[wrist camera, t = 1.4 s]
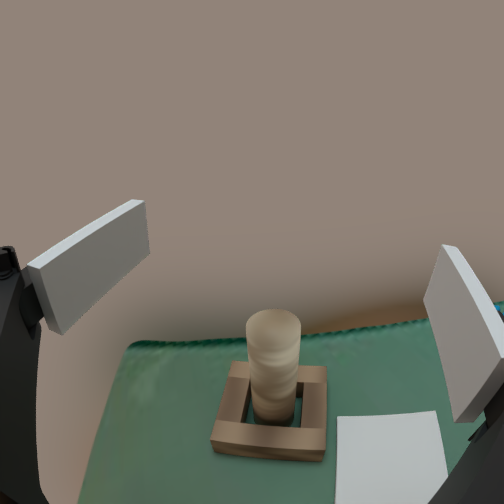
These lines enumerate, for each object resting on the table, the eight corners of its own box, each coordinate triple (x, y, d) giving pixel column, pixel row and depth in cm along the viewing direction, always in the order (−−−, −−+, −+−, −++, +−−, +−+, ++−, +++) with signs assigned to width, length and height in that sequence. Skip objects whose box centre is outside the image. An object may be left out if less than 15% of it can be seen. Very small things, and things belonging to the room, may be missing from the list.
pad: (433, 413, 28) (435, 410, 28) (448, 502, 18) (450, 500, 18) (336, 419, 30) (337, 416, 30) (333, 517, 20) (334, 515, 20)
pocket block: (323, 381, 35) (326, 366, 34) (321, 461, 26) (325, 449, 24) (234, 376, 37) (232, 360, 36) (214, 451, 28) (209, 439, 26)
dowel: (294, 402, 33) (301, 310, 26) (291, 434, 29) (299, 347, 22) (257, 399, 34) (250, 307, 27) (250, 430, 30) (241, 343, 23)
